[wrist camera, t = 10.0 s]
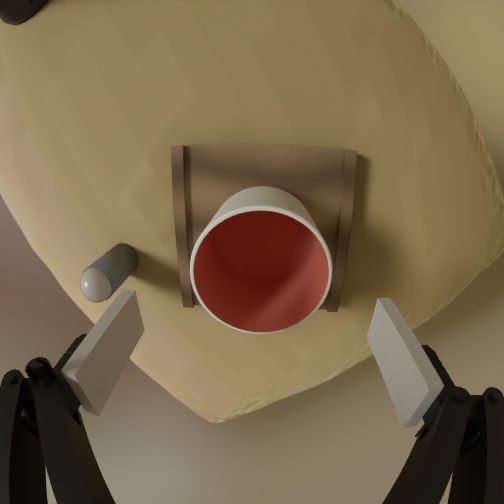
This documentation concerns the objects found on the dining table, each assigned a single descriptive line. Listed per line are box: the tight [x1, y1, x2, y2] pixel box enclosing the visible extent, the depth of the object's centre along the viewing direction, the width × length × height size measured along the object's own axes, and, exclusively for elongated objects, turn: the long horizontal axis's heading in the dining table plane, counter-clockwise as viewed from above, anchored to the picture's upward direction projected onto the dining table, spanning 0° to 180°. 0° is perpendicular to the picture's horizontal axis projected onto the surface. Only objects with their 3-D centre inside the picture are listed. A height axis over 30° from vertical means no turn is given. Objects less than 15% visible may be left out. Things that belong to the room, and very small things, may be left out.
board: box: [171, 144, 357, 312], centre depth 28 cm, size 18×18×2 cm
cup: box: [190, 186, 333, 334], centre depth 23 cm, size 10×10×10 cm
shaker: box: [80, 243, 138, 303], centre depth 28 cm, size 4×4×9 cm
